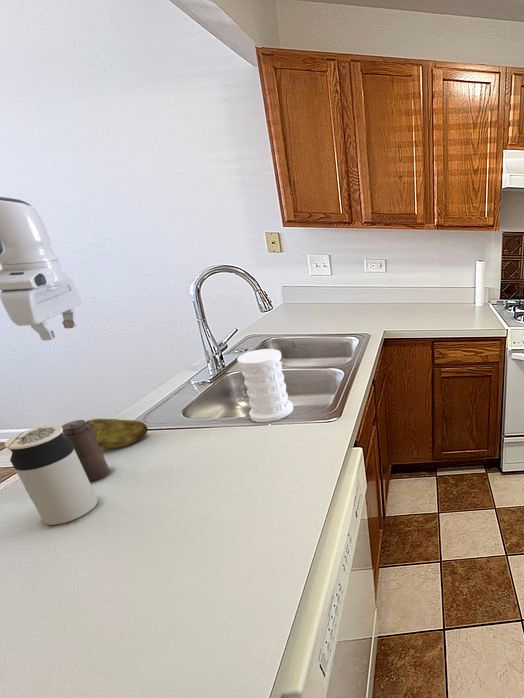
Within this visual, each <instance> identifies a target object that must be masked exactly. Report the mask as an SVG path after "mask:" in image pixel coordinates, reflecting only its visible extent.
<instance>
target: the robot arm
mask: <svg viewBox="0 0 524 698" xmlns="http://www.w3.org/2000/svg"><path fill="white" fill-rule="evenodd" d="M0 266H1V269H0V301H1V303H2V305H3V307H4V309H5V311H6V313H7V315H8V317H9V319H10V321H11V322H12V323H13V324H15V325H16V326H19V327H24V326H25V327H26V326H30V327H31V329H33V330H34V331H35V332H36V333H37V334H38V335H39V338H40V340H42V341H52V340H53V339H55V338H56V334H55V332H54V330H50V328H49V327H48V322H47V320H50V319H53V318H54V317H57V316H58V315H62V319H63V320H62V322H61V323H62V325H63V328H64V329H68V330H69V329H74V328H75V327H77V323H76V320H75V318H76V317H75V315H76V312H75V309H74V308H76V307H79V306H81V305H82V297H81V295H80V293H79V291H78V288H77V287H76V285H75V283H74V281H73V279H72V278H71V277H70V276H68V275H67V274H66V272H64V271H63V268H62V265H61V263H60V261H59V257H58V256H57V255H56V253H55V252H54V251H53V248H52V245H51V237H50V234H49V233H48V230H47V228H46V226H45V224H44V221H43V220H42V218H41V215H40V214H39V212H38V210H36V208H35V207H34V206H33V205H32V204H30V203H29V202H27V201H24V200H21V199H18V198H17V199H16V198H11V197H5V196H0Z"/></svg>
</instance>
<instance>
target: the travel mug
mask: <svg viewBox="0 0 524 698" xmlns="http://www.w3.org/2000/svg"><path fill="white" fill-rule="evenodd" d="M62 431H63V428H62V425H61V426H60V425H57V424H56V425H54V424H53V425H52V424H51V425H44V426H39V427H34V428H31V429H28V430H25V431H22V432H19V433H18V434H17V433H16V435H13V436H12V437H10V438H8V439H7V440H6V441H5V442H4V447H5V448H6V449H8V450H9V451H10V452H11V456H10V460H9V461H10V463H11V465H12V467H13V468H14V471H15V472H16V474H17V476H18V478H19V479H20V481H21V483H22V485H23V487H24V488H25V490H26V492H27V494H28V496H29V498H30V500H31V501H32V503H33V505H34V507H35V508H36V509H35V510H36V511H37V512H38V515H39V516H40V518H41V520H42V521H43V523H44V524H45V525H48V526H52V525H62V524H65V523H68V522H71V521H74V520H77V519H78V518H81V517H83V516H84V515H86V514H87V513H89V512H90V511H92V510H93V509H94V508H95V507H96V505H97V504H98V501H99V500H98V496H97V495H96V493H95V490H94V489H93V486H92V485H91V482H89V480H88V478H87V475H86V473H85V471H84V469H83V467H82V465H81V462H80V460H79V458H78V456H77V454H76V452H75V450H74V447H73V445H72V443H71V441H70V440H69V439H67V438H65V437H63V435H62V433H63V432H62Z"/></svg>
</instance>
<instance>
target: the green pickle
mask: <svg viewBox="0 0 524 698" xmlns="http://www.w3.org/2000/svg"><path fill="white" fill-rule="evenodd" d="M85 422H86V425H89V426H91V428H92V430H93V433H94V435H95V437H96V440H97V442H98V444H99V447H100V448H102V449H103V448H105V449H118V448H122V447H126V446H129V445H132V444H133V443H136V442H137V441H139V440H141V439H142V438H144V437H145V436H146V434H147V433H148V430H149V429H148V426H147V425H146V423H145V422H143V421H140V420H131V419H116V418H93V419H89V420H85Z"/></svg>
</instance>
